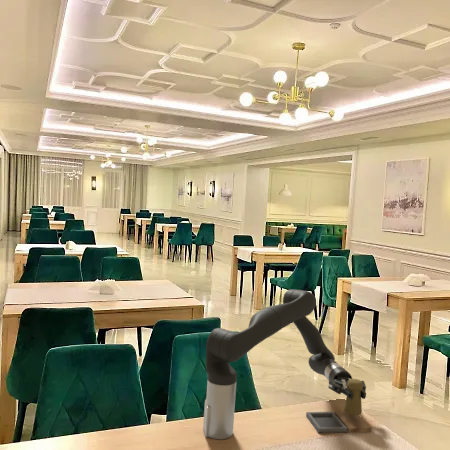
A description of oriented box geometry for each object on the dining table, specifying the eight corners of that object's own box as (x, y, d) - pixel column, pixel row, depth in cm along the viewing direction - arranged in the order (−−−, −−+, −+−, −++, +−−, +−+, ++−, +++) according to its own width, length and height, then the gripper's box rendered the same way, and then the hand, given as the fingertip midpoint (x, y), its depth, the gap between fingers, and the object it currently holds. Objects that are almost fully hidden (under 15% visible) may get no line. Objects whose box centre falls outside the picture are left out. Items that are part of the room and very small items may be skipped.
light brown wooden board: (348, 432, 159) (348, 428, 159) (334, 415, 170) (334, 411, 170) (370, 432, 160) (371, 427, 160) (355, 415, 172) (355, 411, 172)
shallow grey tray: (318, 433, 157) (318, 428, 157) (306, 416, 169) (306, 412, 168) (347, 432, 159) (347, 428, 158) (332, 415, 170) (333, 411, 170)
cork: (358, 407, 168) (361, 377, 167) (364, 415, 162) (367, 384, 161) (341, 406, 168) (344, 376, 167) (346, 414, 162) (349, 383, 161)
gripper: (320, 366, 177) (339, 385, 160) (356, 366, 180) (378, 385, 163) (318, 386, 178) (337, 407, 161) (354, 385, 180) (376, 406, 163)
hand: (358, 396), depth 162 cm, fingers closed on cork, 4 cm apart
